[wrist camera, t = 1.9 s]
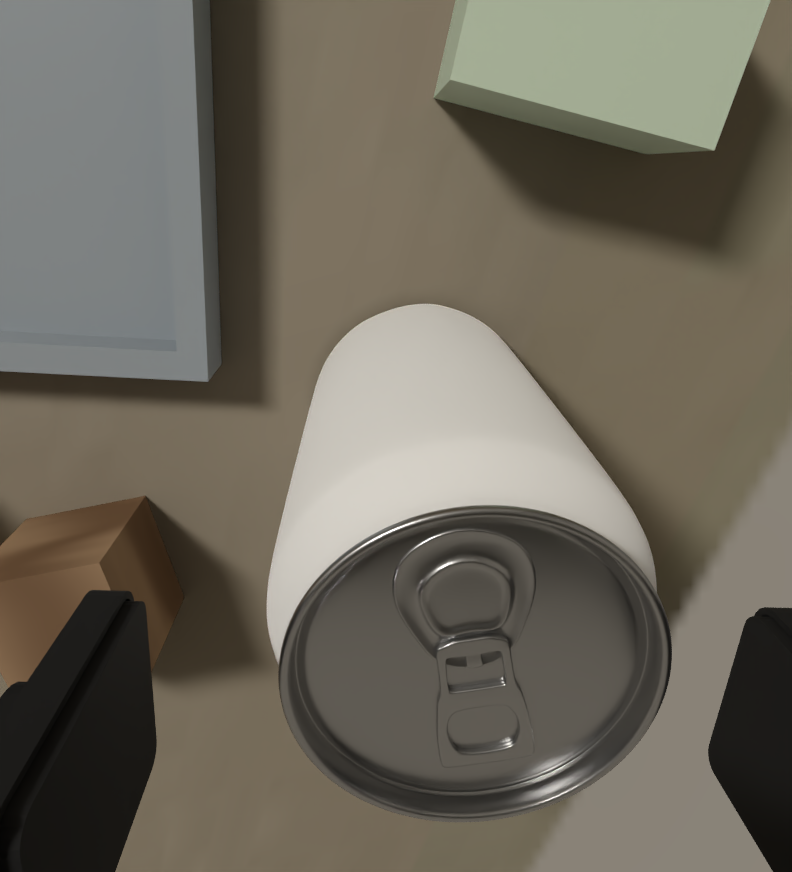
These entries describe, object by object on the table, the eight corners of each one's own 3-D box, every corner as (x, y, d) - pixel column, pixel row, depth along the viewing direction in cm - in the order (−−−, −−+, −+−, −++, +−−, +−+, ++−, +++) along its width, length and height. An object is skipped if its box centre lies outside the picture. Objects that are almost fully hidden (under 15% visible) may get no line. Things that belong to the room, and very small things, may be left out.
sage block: (700, -13, 17) (794, -64, 13) (644, 154, 18) (714, 150, 15) (473, -81, 16) (504, -156, 12) (433, 98, 18) (449, 79, 14)
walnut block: (146, 494, 21) (99, 563, 18) (184, 596, 23) (148, 678, 19) (27, 517, 22) (-44, 590, 18) (73, 616, 23) (16, 702, 19)
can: (513, 283, 19) (709, 440, 8) (530, 482, 22) (699, 811, 11) (294, 319, 19) (191, 520, 8) (335, 512, 22) (299, 868, 11)
